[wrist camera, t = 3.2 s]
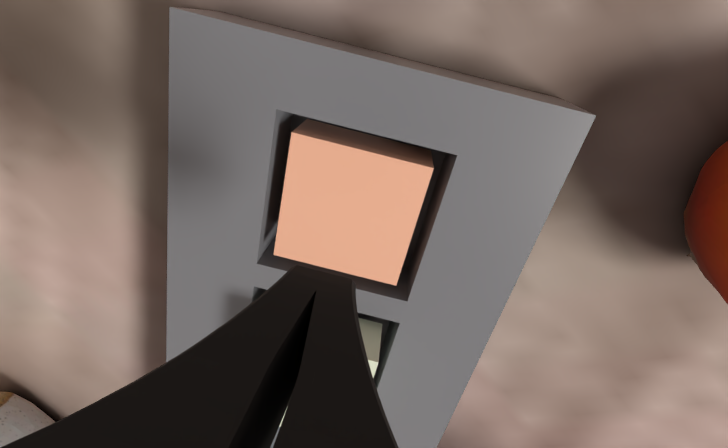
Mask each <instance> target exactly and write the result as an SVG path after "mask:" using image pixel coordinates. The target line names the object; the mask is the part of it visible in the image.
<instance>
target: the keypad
mask: <svg viewBox="0 0 728 448" xmlns="http://www.w3.org/2000/svg"><path fill="white" fill-rule="evenodd" d="M595 117H596V115H594V114H592V113H590V112H588V111H586V110H584V109H582V108H580V107H577V106H575V105H573V104H571V103H569V102H567V101H565V100H563V99H561V98H557V97H553V96H549V95H545V94H541V93H537V92H533V91H529V90H526V89H522V88H518V87H514V86H510V85H506V84H502V83H498V82H494V81H490V80H486V79H482V78H478V77H475V76H471V75H467V74H463V73H459V72H455V71H451V70H447V69H443V68H439V67H435V66H431V65H427V64H424V63H420V62H416V61H412V60H408V59H404V58H400V57H396V56H392V55H388V54H384V53H380V52H376V51H373V50H369V49H365V48H361V47H357V46H353V45H349V44H345V43H341V42H337V41H333V40H329V39H325V38H321V37H318V36H314V35H310V34H306V33H302V32H298V31H294V30H290V29H286V28H282V27H278V26H274V25H270V24H267V23H263V22H259V21H255V20H251V19H247V18H243V17H239V16H235V15H231V14H227V13H223V12H219V11H213V10H201V9H190V8H178V7H169V113H168V223H167V333H166V362H168V361H170V360H171V359H173V358H175V357H176V356H178V355H179V354H181V353H182V352H184V351H186V350H187V349H189V348H190V347H192V346H193V345H195V344H196V343H198V342H199V341H200V340H202V339H203V338H205V337H206V336H208V335H209V334H210V333H212V332H213V331H215V330H216V329H218V328H219V327H220V326H222V325H223V324H225V323H226V322H228V321H229V320H230V319H232V318H233V317H234V316H235V315H237V314H238V313H239V312H241V311H242V310H243V309H244V308H246V307H247V306H248V305H249V304H251V303H252V302H253V301H254V300H256V299H257V298H258V297H259V296H261V295H262V294H263V293H264V292H265V291H266V290H268V289H269V288H270V287H271V286H272V285H273V284H275V283H276V282H277V281H278V280H279V279H280V278H281V277H282V276H283V275H284V274H285V273H286V272H287V271H288V270H289V269H290V268H292V267H294V266H296V265H299V266H303V267H306V268H310V269H314V270H318V271H322V272H326V273H330V274H334V275H338V276H342V277H346V278H350V279H353V281H354V283H355V284H356V304H357V312H358V318H362V319H366V320H369V321H373V322H377V323H381V324H382V333H381V343H380V353H379V363H378V366H377V369H376V372H375V375H374V378H373V379H374V382H375V385H376V389H377V392H378V395H379V398H380V401H381V403H382V406H383V409H384V412H385V415H386V417H387V420H388V423H389V425H390V428H391V430H392V433H393V435H394V438H395V440H396V442H397V445H398V447H399V448H437V446H438V444H439V442H440V440H441V437H442V435H443V433H444V431H445V429H446V427H447V425H448V423H449V421H450V419H451V417H452V415H453V413H454V410H455V408H456V406H457V404H458V402H459V400H460V398H461V396H462V394H463V392H464V390H465V388H466V385H467V383H468V381H469V379H470V377H471V375H472V373H473V371H474V369H475V367H476V365H477V363H478V361H479V358H480V356H481V354H482V352H483V350H484V348H485V346H486V344H487V342H488V340H489V338H490V336H491V334H492V331H493V329H494V327H495V325H496V323H497V321H498V319H499V317H500V315H501V313H502V311H503V309H504V306H505V304H506V302H507V300H508V298H509V296H510V294H511V292H512V290H513V288H514V286H515V284H516V282H517V279H518V277H519V275H520V273H521V271H522V269H523V267H524V265H525V263H526V261H527V259H528V257H529V254H530V252H531V250H532V248H533V246H534V244H535V242H536V240H537V238H538V236H539V234H540V232H541V230H542V227H543V225H544V223H545V221H546V219H547V217H548V215H549V213H550V211H551V209H552V207H553V205H554V202H555V200H556V198H557V196H558V194H559V192H560V190H561V188H562V186H563V184H564V182H565V180H566V178H567V175H568V173H569V171H570V169H571V167H572V165H573V163H574V161H575V159H576V157H577V155H578V153H579V150H580V148H581V146H582V144H583V142H584V140H585V138H586V136H587V134H588V132H589V130H590V128H591V126H592V123H593V121H594V119H595ZM306 119H310V120H314V121H318V122H322V123H325V124H329V125H333V126H337V127H341V128H345V129H349V130H353V131H357V132H361V133H365V134H369V135H373V136H377V137H381V138H385V139H388V140H392V141H396V142H400V143H404V144H408V145H412V146H416V147H420V148H424V149H428V150H431V153H432V160H433V166H434V169H433V172H432V176H431V179H430V182H429V185H428V188H427V191H426V194H425V197H424V201H423V204H422V207H421V210H420V213H419V216H418V219H417V222H416V226H415V229H414V232H413V235H412V238H411V241H410V244H409V247H408V251H407V254H406V257H405V260H404V263H403V266H402V269H401V272H400V275H399V279H398V282H397V285H396V286H395V285H391V284H387V283H383V282H379V281H375V280H371V279H367V278H363V277H359V276H356V275H352V274H348V273H344V272H340V271H336V270H332V269H328V268H324V267H320V266H316V265H312V264H308V263H304V262H300V261H296V260H292V259H288V258H284V257H280V256H276V255H273V254H274V248H275V241H276V234H277V227H278V221H279V214H280V207H281V200H282V193H283V187H284V180H285V173H286V166H287V160H288V153H289V146H290V139H291V132H292V131H293V130H295V129H296V128H297V127H298V126H299V125H300V124H301V123H303V122H304V121H305V120H306Z"/></svg>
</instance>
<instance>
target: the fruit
mask: <svg viewBox="0 0 728 448" xmlns="http://www.w3.org/2000/svg"><path fill="white" fill-rule="evenodd" d="M684 224H685V236H686V238H687V242H688V245H689V248H690V249H691V253H690V254H689V255H687V256H690V257H691V258H692V259H693V260H694V262H695V263H696V264H697V265H698V267H699V269H700V270H701V272H702V273H703V275H704V276H705V278H706V279H707V280H708V281H709V282H710V283H711V284H712V285H713V286H714V287H715V289H716V290H717V291H718V292H719V293H720V295H721V296H722V297H723V299H724V300H725V301H726V303H727V304H728V141H727V142H726V143H724V144H723V145H721V146H720V147H719V148H718V149H717V150H716V151H715V152H714V153H713V154H712V155H711V157H710V158H709V159H708V160H707V161H706V163H705V164H704V166H703V167H702V169H701V171H700V173H699V176H698V178H697V181H696V184H695V187H694V189H693V192H692V194H691V196H690V198H689V200H688V203H687V206H686V209H685V211H684Z"/></svg>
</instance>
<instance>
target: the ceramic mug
mask: <svg viewBox="0 0 728 448" xmlns="http://www.w3.org/2000/svg"><path fill="white" fill-rule="evenodd" d="M53 423H55V421H54V420H53V419H51V418H50V417H49V416H48V415H46V414H45V413H44V412H43V411H42V410H40V409H39V408H38V407H36V406H35V405H34V404H33V403H31V402H29V401H27V400H26V399H24V398H22V397H20V396H18V395H16V394H14V393H12V392H3V391H2V392H0V447H2V446H4V445H7V444H9V443H11V442H13V441H16V440H18V439H20V438H22V437H24V436H27V435H29V434H31V433H33V432H35V431H38V430H40V429H42V428H44V427H47V426H49V425H51V424H53Z"/></svg>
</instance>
